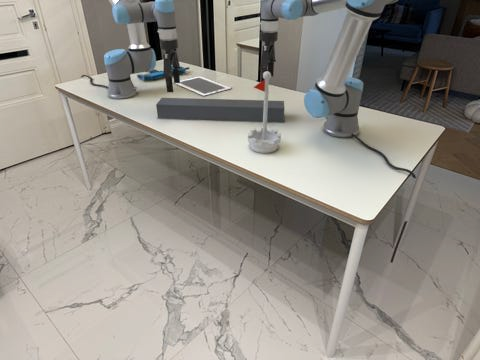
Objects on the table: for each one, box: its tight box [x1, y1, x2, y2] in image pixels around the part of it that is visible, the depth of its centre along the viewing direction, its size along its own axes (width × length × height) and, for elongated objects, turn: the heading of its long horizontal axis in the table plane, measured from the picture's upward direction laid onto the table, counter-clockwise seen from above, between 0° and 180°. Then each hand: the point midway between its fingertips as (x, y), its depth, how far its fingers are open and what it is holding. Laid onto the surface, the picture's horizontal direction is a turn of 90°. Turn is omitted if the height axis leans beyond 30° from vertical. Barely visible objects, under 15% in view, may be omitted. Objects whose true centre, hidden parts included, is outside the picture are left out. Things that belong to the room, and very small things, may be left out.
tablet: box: [172, 75, 232, 97], centre depth 203 cm, size 32×20×1 cm, turn 41°
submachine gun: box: [136, 66, 190, 82], centre depth 223 cm, size 34×4×25 cm
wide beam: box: [155, 97, 285, 123], centre depth 162 cm, size 60×10×7 cm, turn 85°
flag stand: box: [247, 71, 282, 154], centre depth 129 cm, size 13×13×30 cm
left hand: (173, 87), depth 158 cm, fingers open, 13 cm apart
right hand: (267, 80), depth 158 cm, fingers open, 13 cm apart
